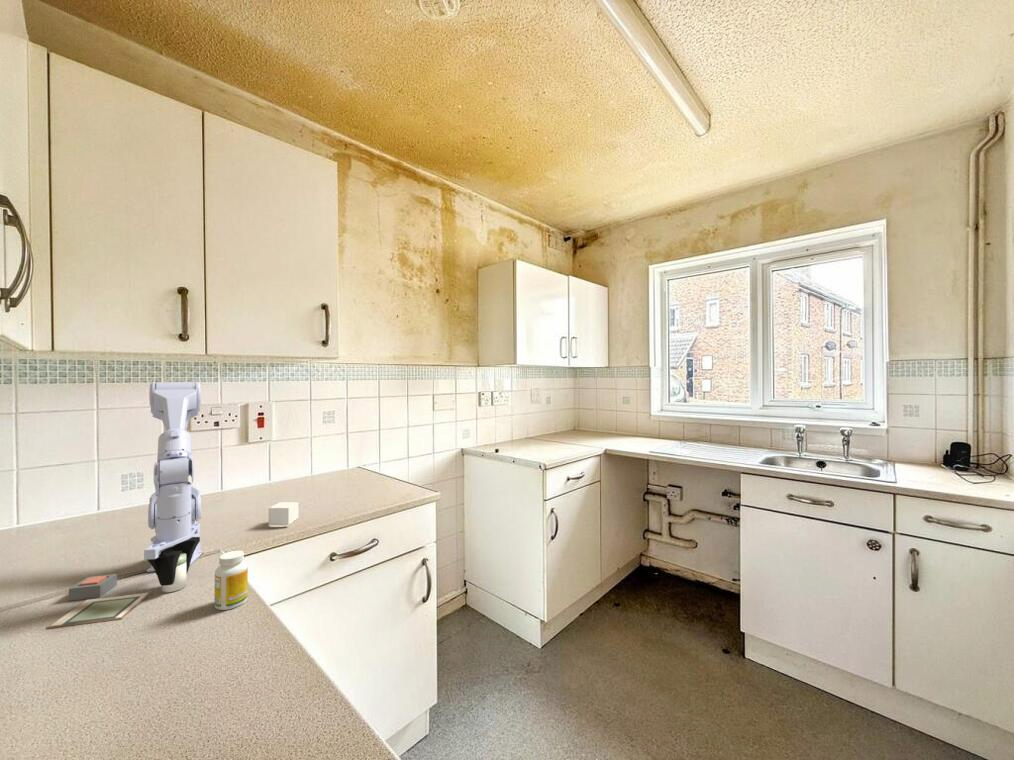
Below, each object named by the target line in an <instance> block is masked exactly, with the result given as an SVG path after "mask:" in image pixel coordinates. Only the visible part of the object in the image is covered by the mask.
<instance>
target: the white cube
mask: <svg viewBox="0 0 1014 760" xmlns="http://www.w3.org/2000/svg"><path fill="white" fill-rule="evenodd" d="M299 505H300V503H299V502H297V501H296V502H295V501H289V502H288V501H287V502H286V501H285V502H284V501H283V502H282V501H280V502H278V503H275V504H274V505H271V506H269V507H268V526H269V525H289V524H290V523H292V522H293V521H294V520H296V519H297V518H300V517H299V514H300V513H299V510H300V509H299Z"/></svg>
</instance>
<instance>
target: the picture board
mask: <svg viewBox="0 0 1014 760" xmlns="http://www.w3.org/2000/svg"><path fill="white" fill-rule="evenodd" d="M152 593H153V592H152V591H150V592H140V593H132V594H126V595H125V594H123V595H117V596H109V597H108V596H107V597H97V598H89V599H84V601H83V602H81V603H79V604H78V605H76V606H75V607H74V608H72V609H70V611H68V612H66V613H65V614H64V615H62V616H61V617H60V618H59V617H58V619H57V620H55V621H54V622H52V623H51V624H49V625H48V626H46V627H45V630H47V629H48V630H49V629H55V628H56V629H58V628H64V627H73V626H80V625H86V624H87V625H88V624H94V623H96V624H97V623H101V622H110V621H117V620H118V621H119V620H123V619H124V618H125V617H126V616H127V615H128V614H129V613H131V612H132V611H133V610H134V609H135V608H136V607H137V606H138V605H140V604H141V603H142V602H143V601H145V599H147V598H148V597H149V596H151V594H152Z"/></svg>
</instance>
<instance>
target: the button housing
mask: <svg viewBox="0 0 1014 760" xmlns="http://www.w3.org/2000/svg"><path fill="white" fill-rule="evenodd" d="M100 576H107V578H106V579H105V580H103V581H102V582H100V583H99V584H94V585H85V586H80V584H81V583H83V582H84V581H86V580H87V579H89V578H91V577H100ZM116 586H118V574H117V573H114V574H104V575H95V576H87V577H85V578H84V579H82V580H81V581H79V582H76V584H75V585H72V586H71V587H69V588H68V602H71V601H79V600H89V599H98V598H102V597H103V596H104V595H105V594H107V593H108V592H109V591H111V590H112V589H113V588H116Z"/></svg>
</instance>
